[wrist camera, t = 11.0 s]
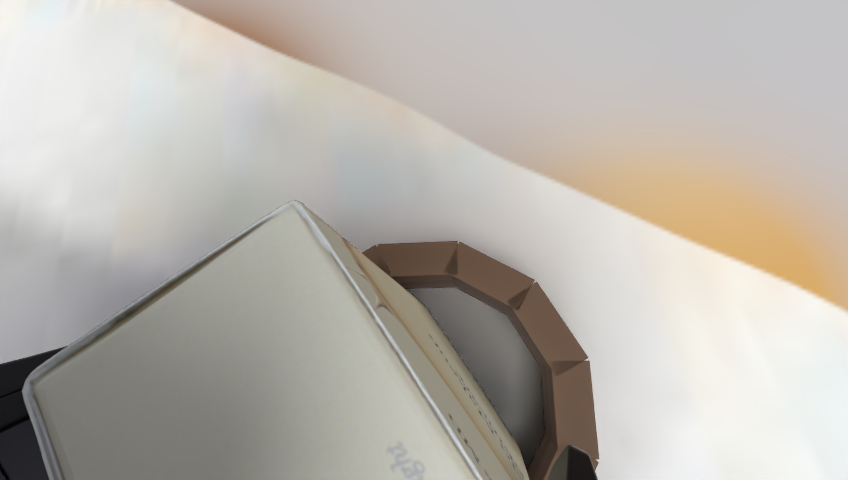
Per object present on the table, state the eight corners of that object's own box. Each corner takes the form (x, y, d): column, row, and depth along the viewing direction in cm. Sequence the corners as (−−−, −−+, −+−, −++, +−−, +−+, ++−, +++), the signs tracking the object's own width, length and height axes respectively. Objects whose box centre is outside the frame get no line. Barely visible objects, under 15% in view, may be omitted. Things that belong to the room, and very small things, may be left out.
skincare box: (521, 447, 16) (650, 716, 4) (417, 523, 15) (219, 1051, 4) (422, 300, 17) (304, 177, 6) (327, 366, 17) (-2, 381, 5)
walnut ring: (373, 626, 16) (348, 686, 13) (250, 347, 19) (208, 345, 16) (639, 460, 16) (673, 482, 13) (473, 212, 19) (472, 186, 16)
